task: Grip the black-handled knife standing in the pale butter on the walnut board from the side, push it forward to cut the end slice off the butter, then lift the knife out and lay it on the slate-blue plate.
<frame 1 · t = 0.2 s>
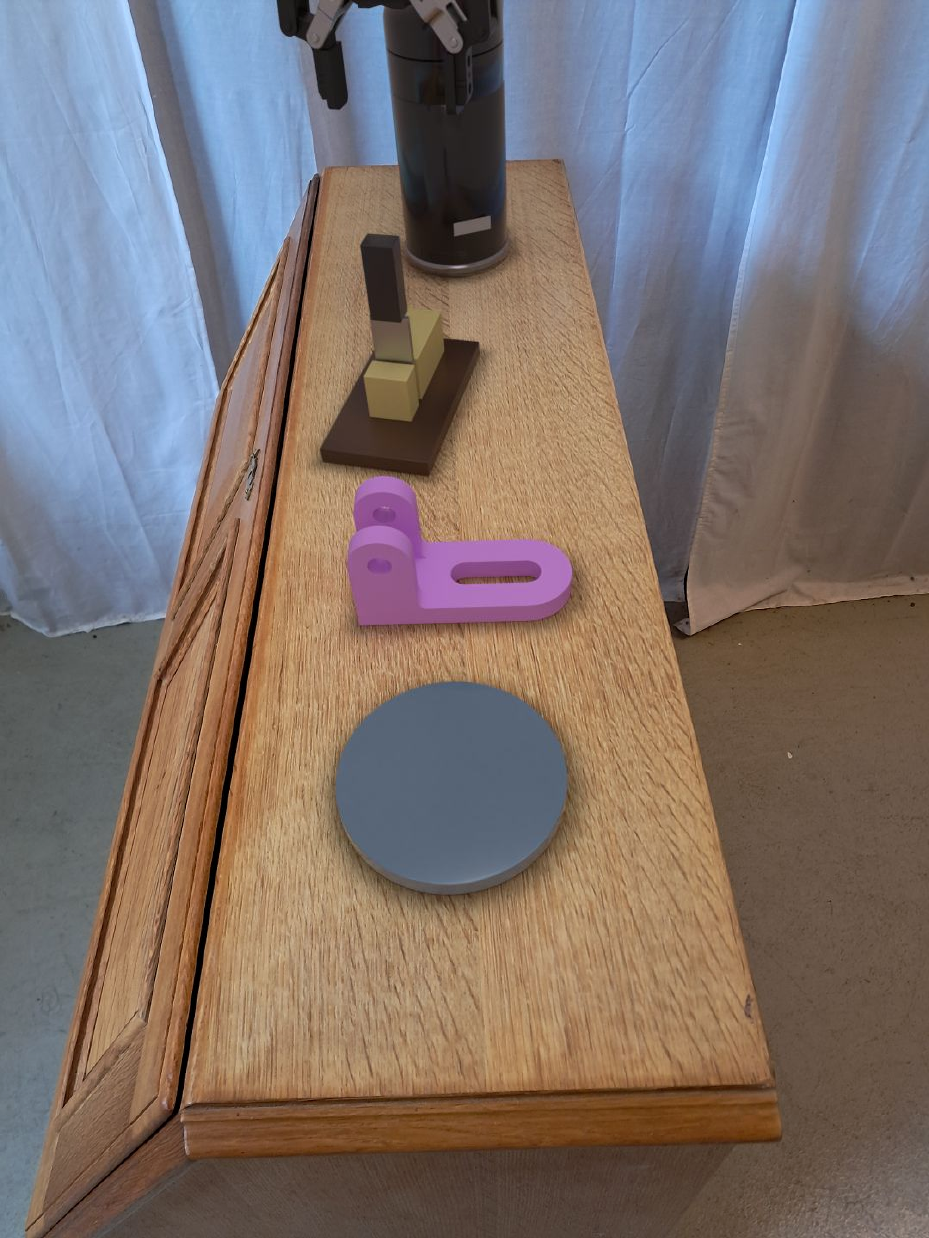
hand: (396, 109, 63), 17 cm above the cabinet, tool pointing down, fingers open, 8 cm apart
board: (405, 405, 70), on the cabinet
plate: (452, 786, 48), on the cabinet
knife: (400, 400, 68), point 1 cm above the cabinet, touching board
bracket: (466, 590, 57), on the cabinet
butter slice: (394, 411, 67), point 1 cm above the cabinet, touching board
butter: (413, 372, 70), point 1 cm above the cabinet, touching board
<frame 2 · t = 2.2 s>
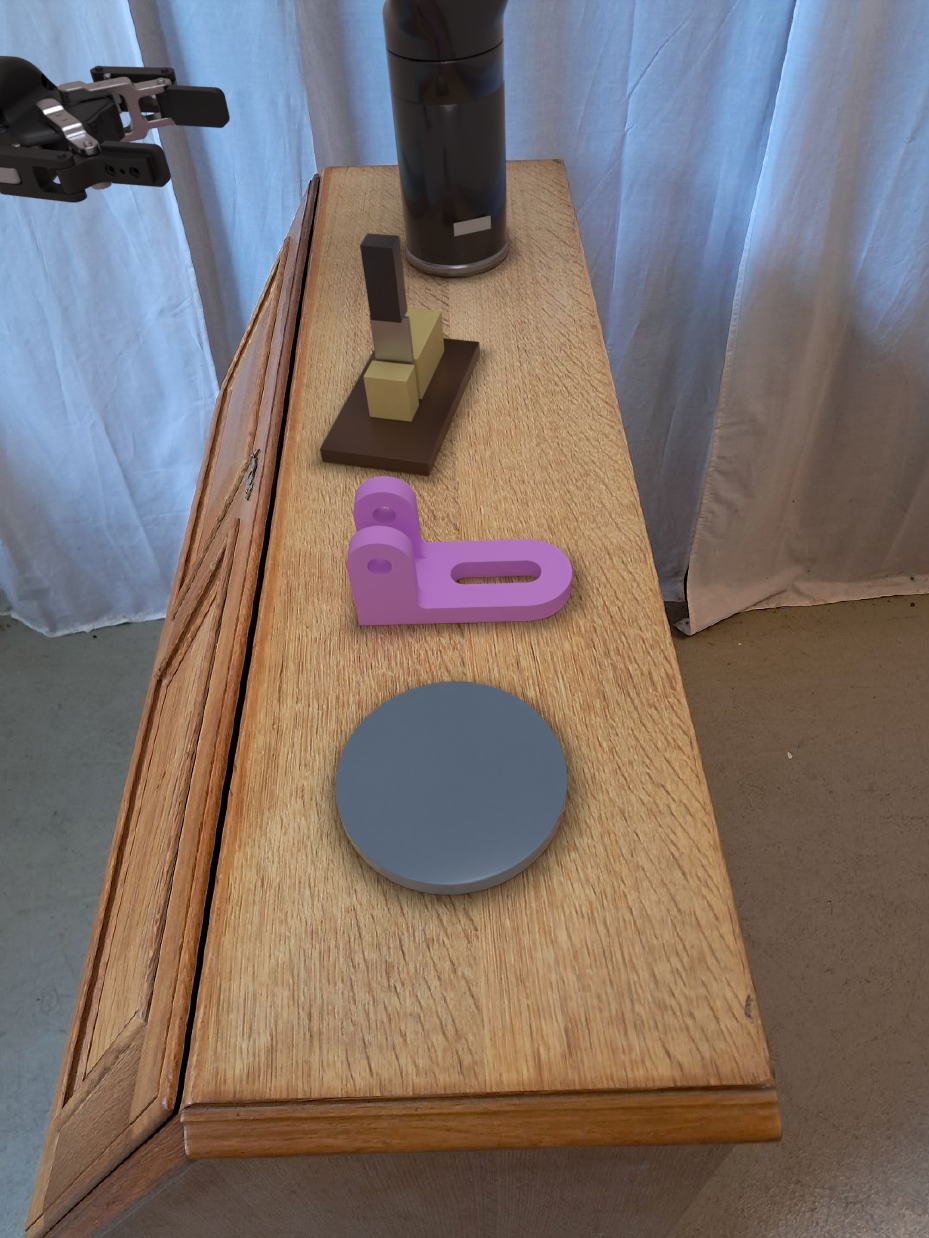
hand: (196, 136, 57), 19 cm above the cabinet, tool horizontal, fingers open, 8 cm apart
nothing on the cabinet moved.
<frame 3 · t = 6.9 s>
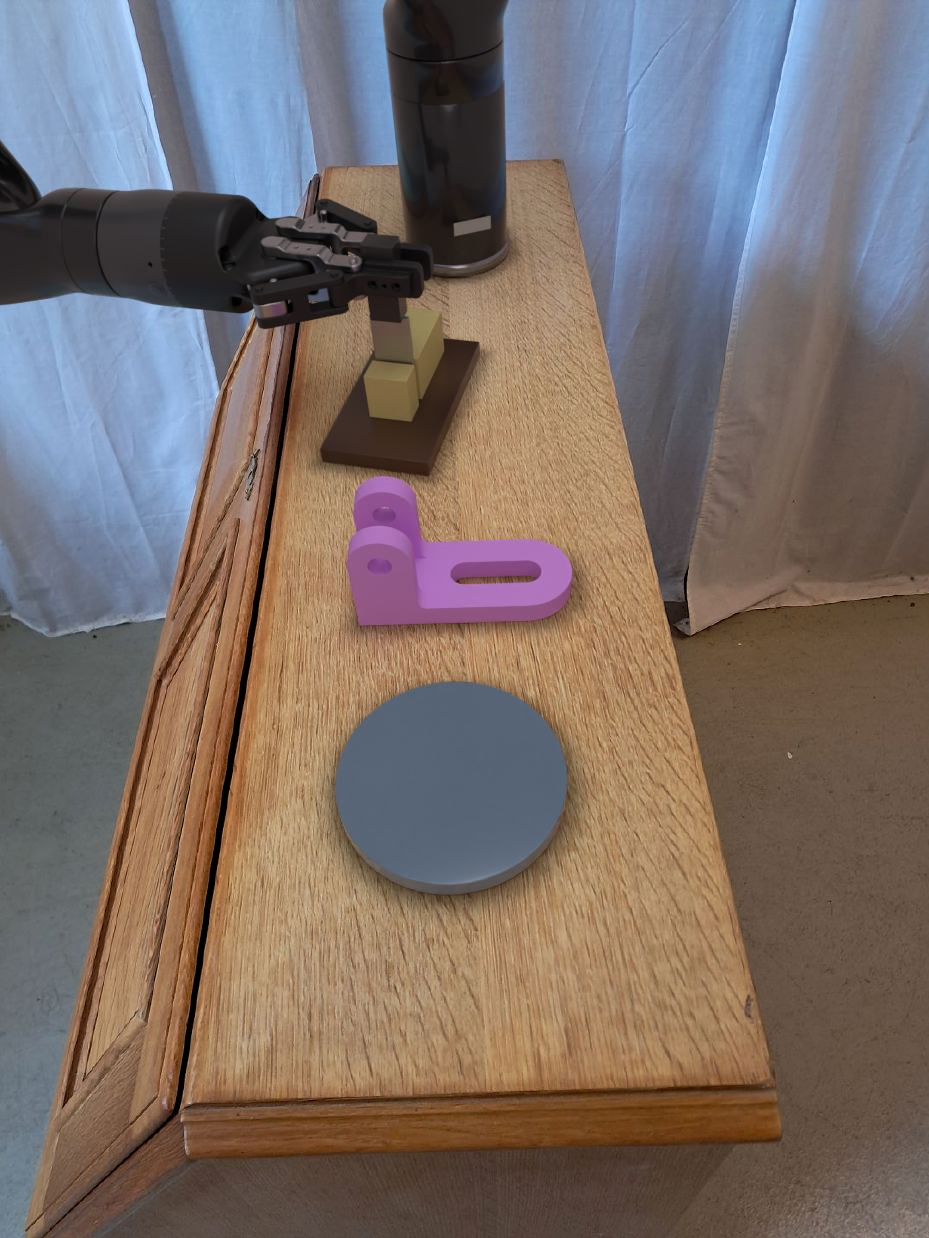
hand: (426, 271, 60), 12 cm above the cabinet, tool horizontal, fingers closed on knife, 1 cm apart
knife: (399, 400, 68), point 1 cm above the cabinet, touching board, gripper
everything else where it was.
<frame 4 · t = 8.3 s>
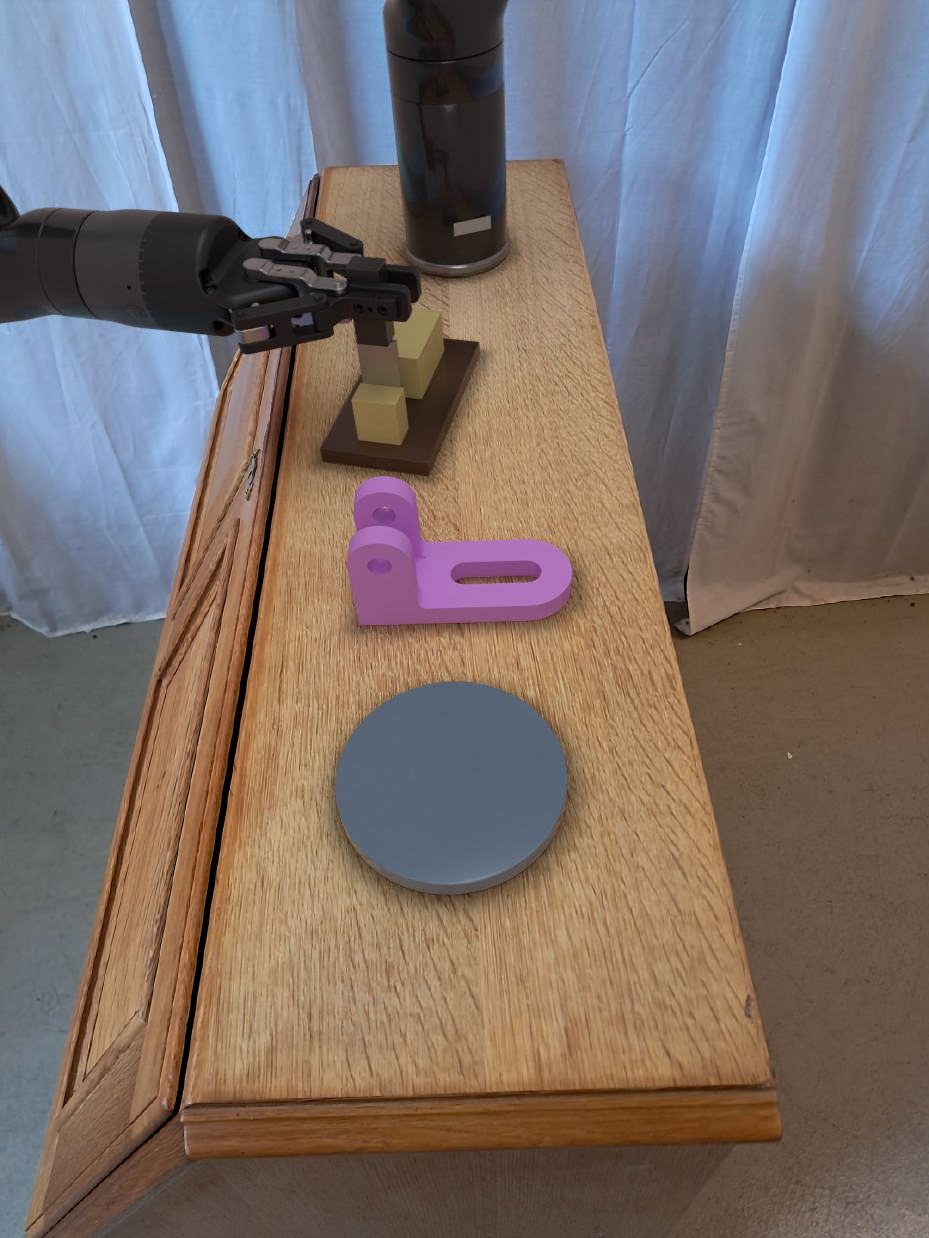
hand: (413, 294, 58), 12 cm above the cabinet, tool horizontal, fingers closed on knife, 1 cm apart
knife: (388, 423, 66), point 1 cm above the cabinet, touching board, butter slice, gripper
butter slice: (383, 434, 66), point 1 cm above the cabinet, touching board, knife
everything else where it was.
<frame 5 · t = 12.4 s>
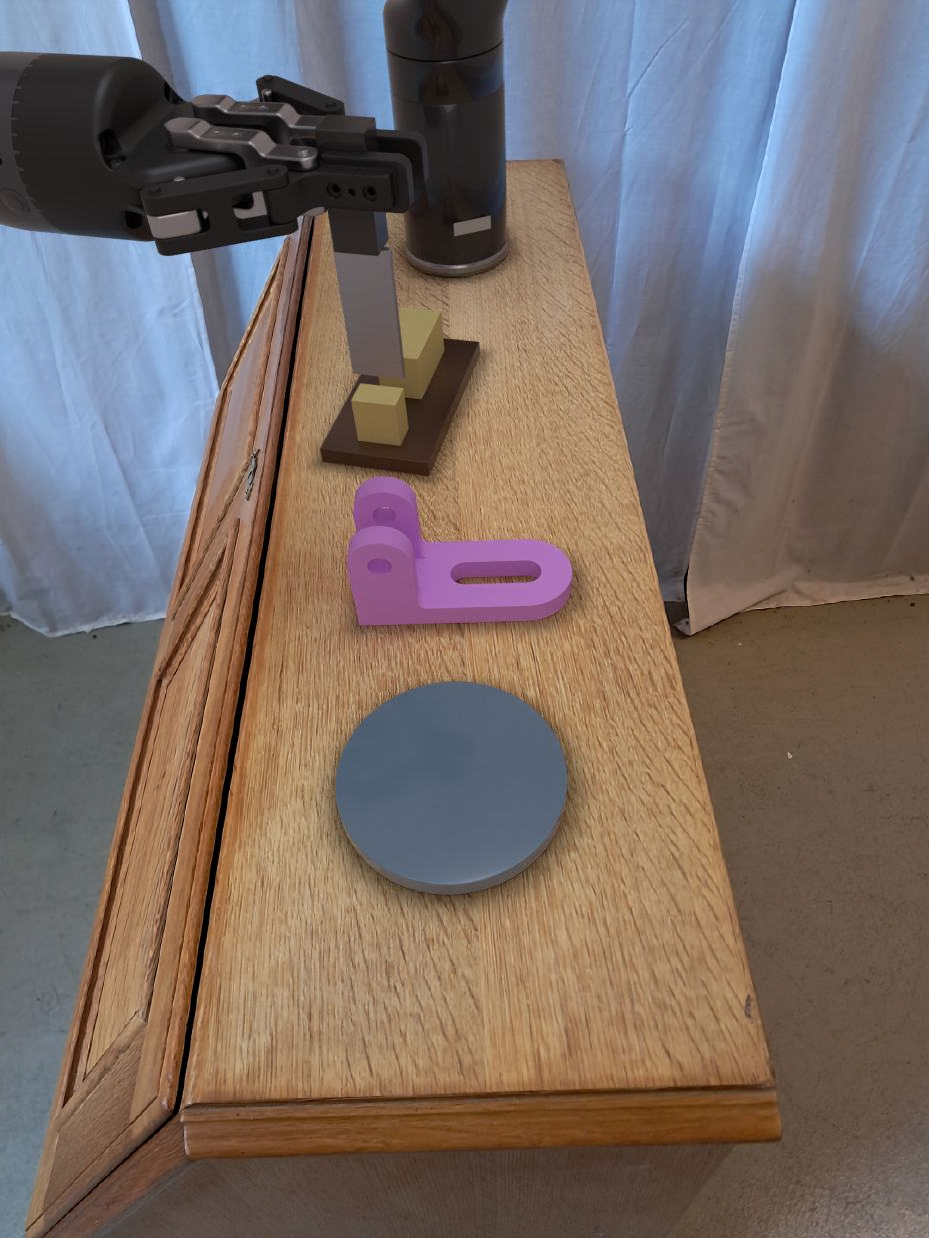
hand: (416, 172, 39), 25 cm above the cabinet, tool horizontal, fingers closed on knife
knife: (379, 374, 48), point 14 cm above the cabinet, touching gripper
butter slice: (383, 434, 66), point 1 cm above the cabinet, touching board
everything else where it was.
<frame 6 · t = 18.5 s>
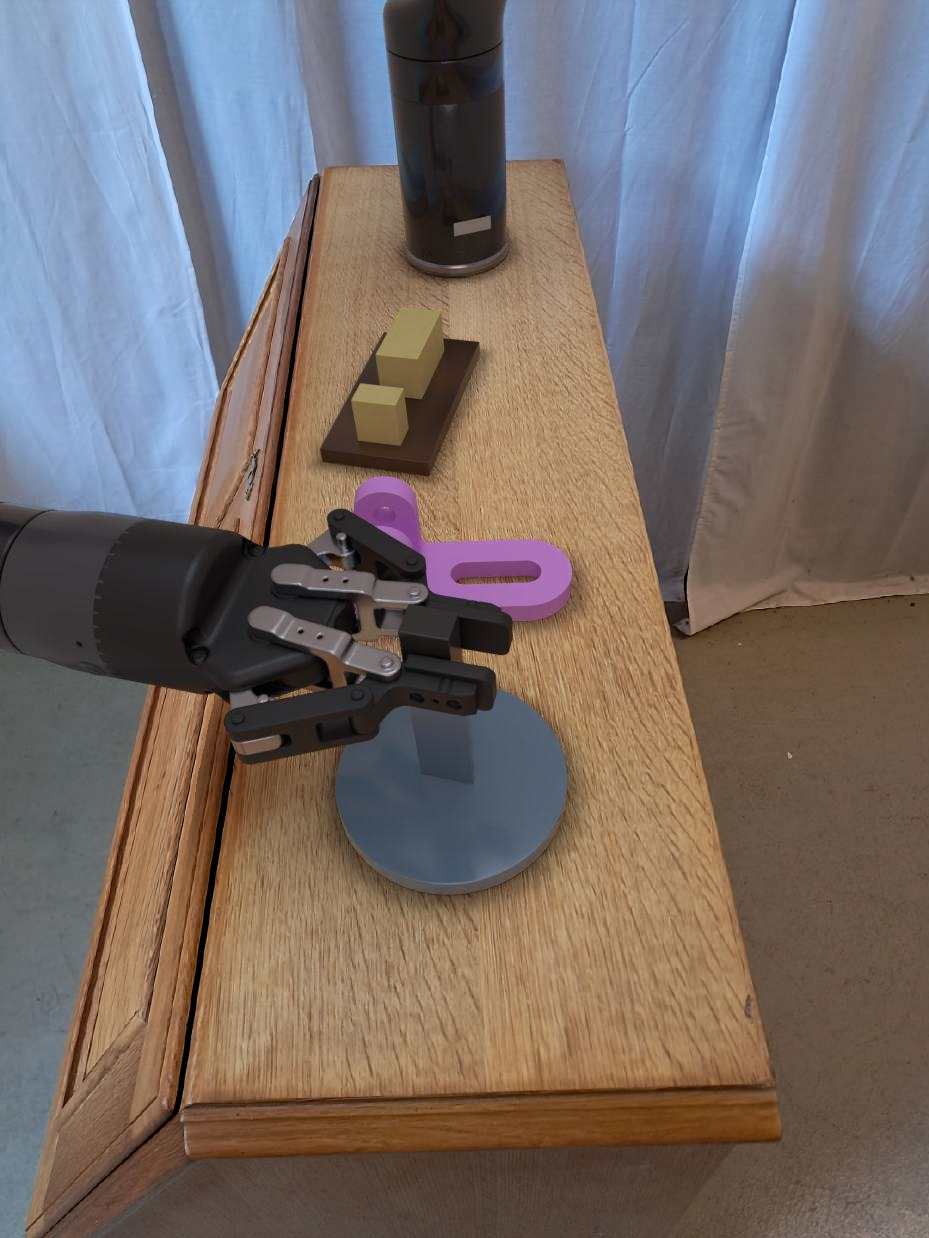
hand: (501, 661, 39), 12 cm above the cabinet, tool horizontal, fingers closed
knife: (447, 775, 47), point 1 cm above the cabinet, touching plate
everything else where it was.
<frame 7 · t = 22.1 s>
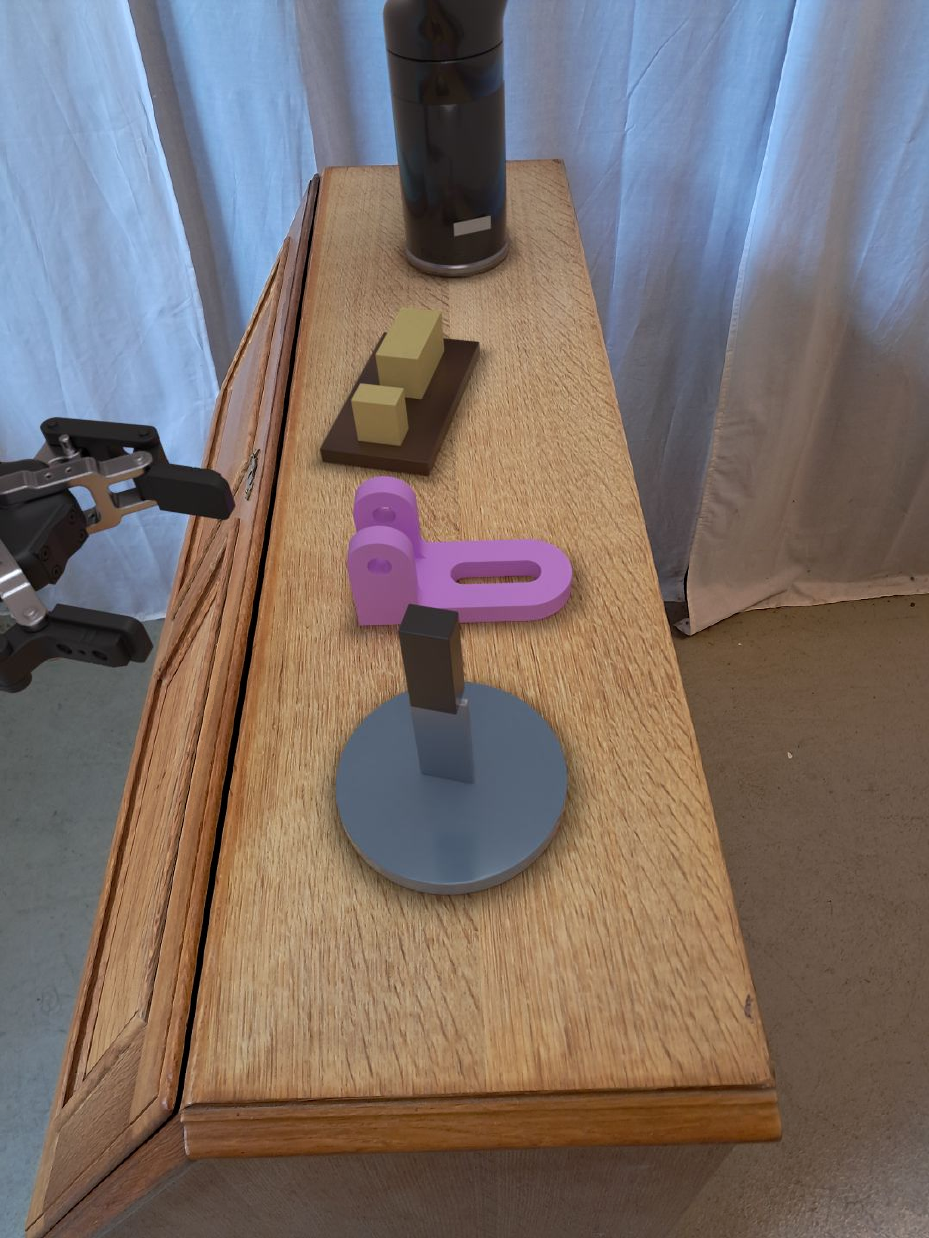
hand: (189, 565, 40), 14 cm above the cabinet, tool horizontal, fingers open, 8 cm apart
nothing on the cabinet moved.
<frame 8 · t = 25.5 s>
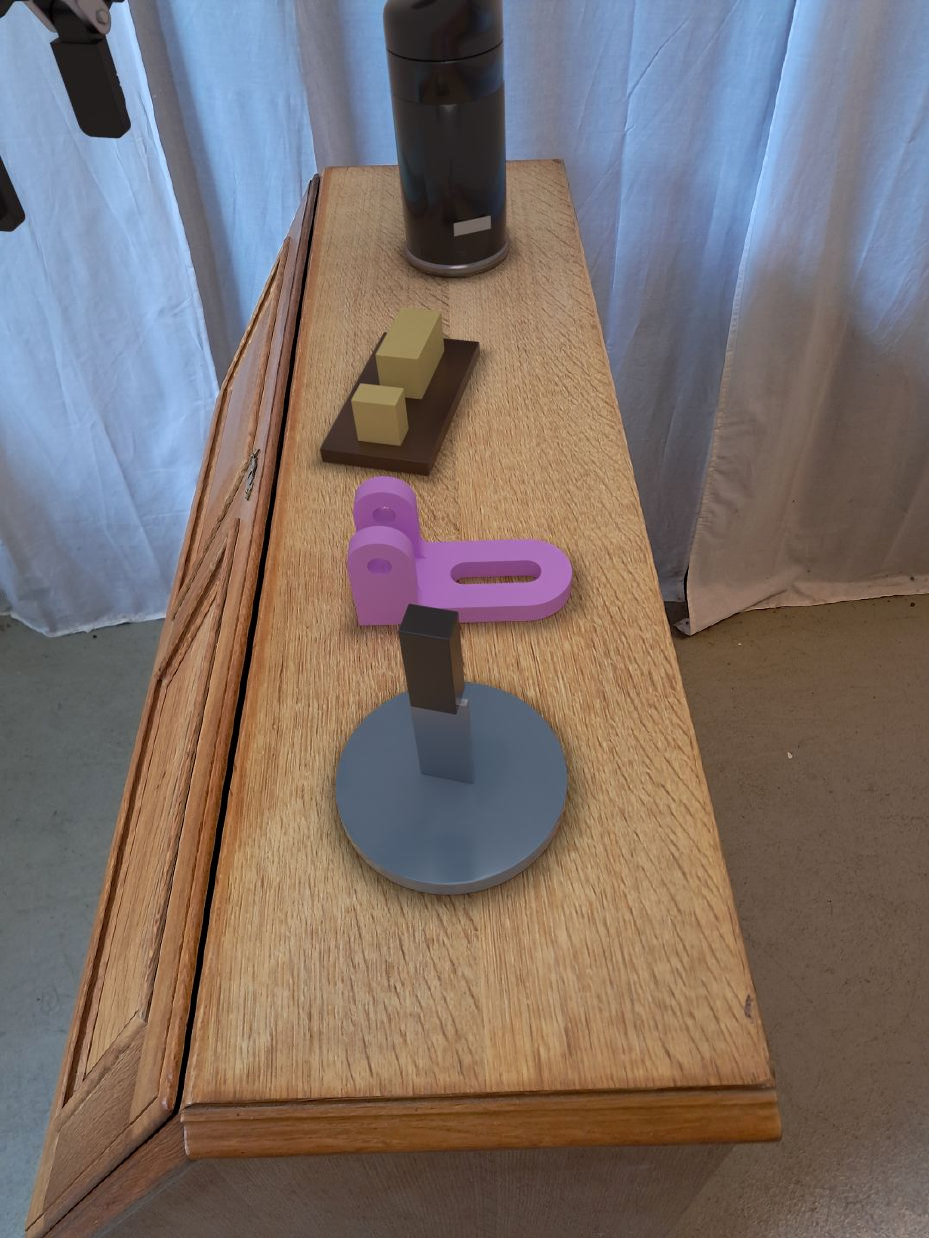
hand: (58, 177, 38), 26 cm above the cabinet, tool pointing down, fingers open, 8 cm apart
nothing on the cabinet moved.
at the end: butter slice moved 2.8 cm from its start; butter moved 0.0 cm from its start; knife inside the target area on the plate (0.1 cm from its centre), point 1.2 cm above the plate's base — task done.
